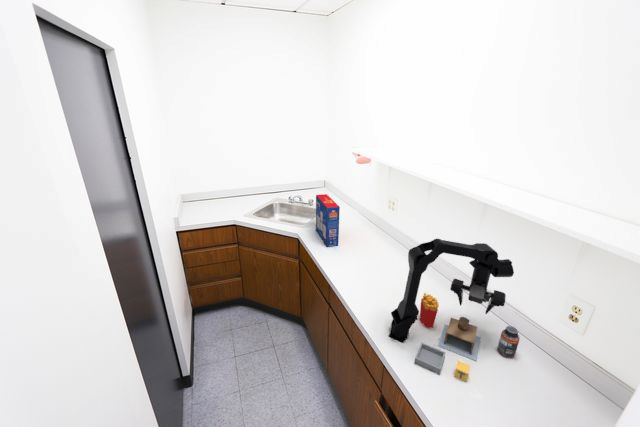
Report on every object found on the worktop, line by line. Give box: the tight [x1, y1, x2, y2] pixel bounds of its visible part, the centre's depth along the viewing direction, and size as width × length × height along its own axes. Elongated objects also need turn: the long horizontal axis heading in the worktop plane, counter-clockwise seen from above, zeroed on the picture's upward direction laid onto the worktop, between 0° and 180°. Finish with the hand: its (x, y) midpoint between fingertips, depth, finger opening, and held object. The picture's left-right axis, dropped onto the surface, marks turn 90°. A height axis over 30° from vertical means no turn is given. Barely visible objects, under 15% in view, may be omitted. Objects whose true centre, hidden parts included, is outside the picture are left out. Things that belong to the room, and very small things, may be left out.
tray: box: [413, 342, 447, 375], centre depth 110 cm, size 9×9×2 cm
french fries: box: [419, 292, 439, 329], centre depth 127 cm, size 9×4×13 cm, turn 15°
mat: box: [437, 323, 482, 362], centre depth 119 cm, size 14×14×1 cm
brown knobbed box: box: [444, 316, 478, 355], centre depth 117 cm, size 10×10×10 cm
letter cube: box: [453, 360, 471, 383], centre depth 104 cm, size 4×4×4 cm
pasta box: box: [315, 193, 341, 248], centre depth 203 cm, size 28×8×28 cm, turn 16°
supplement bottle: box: [497, 325, 520, 359], centre depth 112 cm, size 6×6×11 cm
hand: (473, 309), depth 118 cm, fingers open, 9 cm apart
